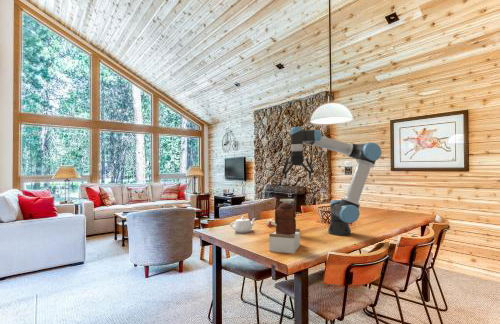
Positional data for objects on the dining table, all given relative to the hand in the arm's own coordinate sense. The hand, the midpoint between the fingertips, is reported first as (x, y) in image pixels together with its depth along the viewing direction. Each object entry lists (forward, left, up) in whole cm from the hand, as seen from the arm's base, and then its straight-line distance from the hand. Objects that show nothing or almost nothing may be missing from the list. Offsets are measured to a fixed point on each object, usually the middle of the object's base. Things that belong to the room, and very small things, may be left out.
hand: (298, 183), depth 181 cm
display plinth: (+4, +21, -36) cm, 42 cm away
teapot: (+42, -10, -36) cm, 56 cm away
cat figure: (+23, -29, -36) cm, 52 cm away
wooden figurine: (+4, +21, -28) cm, 35 cm away
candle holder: (+10, -12, -36) cm, 39 cm away
